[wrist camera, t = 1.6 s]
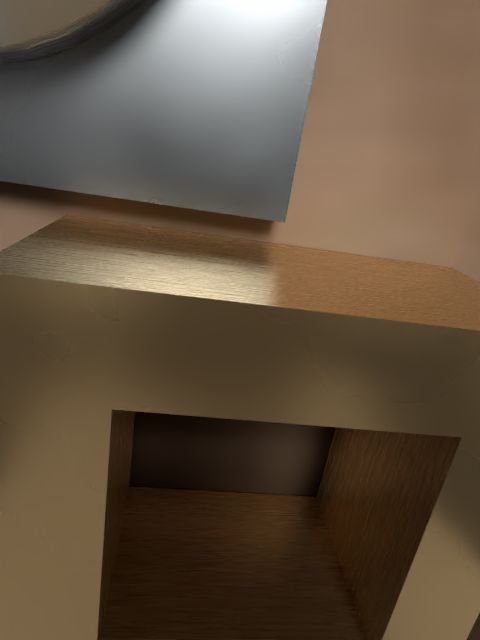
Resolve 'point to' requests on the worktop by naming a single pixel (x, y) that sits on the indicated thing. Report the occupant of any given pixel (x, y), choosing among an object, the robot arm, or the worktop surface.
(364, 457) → the collar
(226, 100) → the post
